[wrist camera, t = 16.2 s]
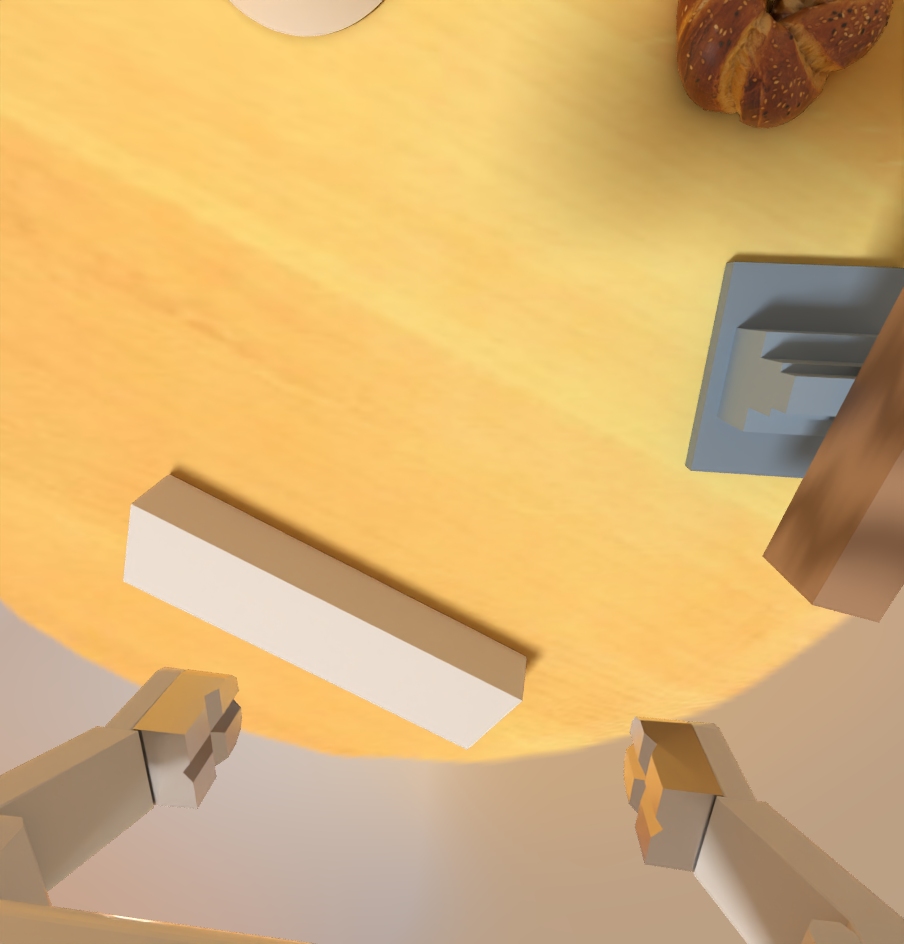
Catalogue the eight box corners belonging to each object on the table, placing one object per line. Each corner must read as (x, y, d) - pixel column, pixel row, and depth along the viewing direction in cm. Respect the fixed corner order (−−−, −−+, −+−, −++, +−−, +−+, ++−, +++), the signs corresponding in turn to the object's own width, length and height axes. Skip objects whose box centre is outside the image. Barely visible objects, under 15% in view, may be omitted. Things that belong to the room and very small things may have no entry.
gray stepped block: (726, 263, 33) (806, 250, 24) (903, 269, 32) (1052, 258, 24) (685, 465, 38) (740, 515, 29) (839, 475, 37) (944, 529, 28)
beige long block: (476, 702, 50) (527, 651, 45) (467, 749, 46) (522, 700, 41) (161, 545, 48) (173, 470, 42) (123, 581, 44) (131, 503, 38)
